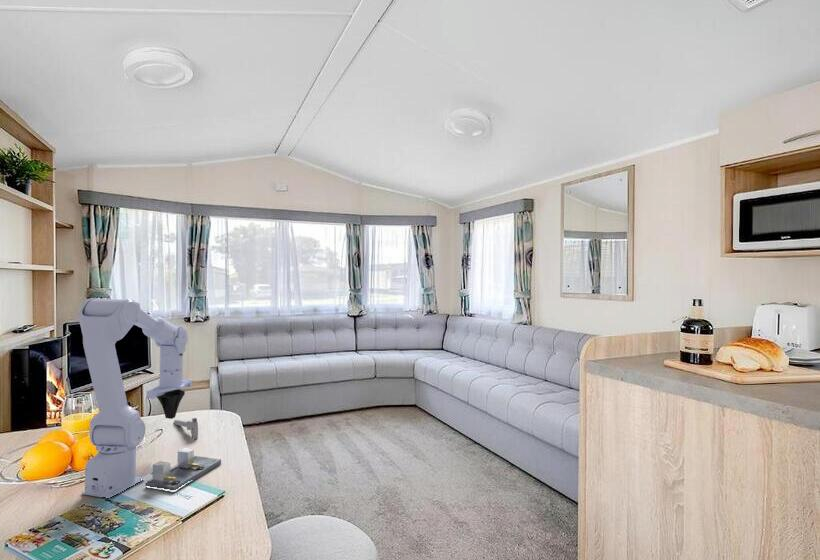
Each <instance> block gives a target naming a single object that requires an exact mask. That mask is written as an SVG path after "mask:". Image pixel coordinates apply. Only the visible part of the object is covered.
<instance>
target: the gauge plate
mask: <svg viewBox="0 0 820 560" xmlns="http://www.w3.org/2000/svg"><path fill="white" fill-rule="evenodd" d="M193 463H196V464H200V466H199V467H190V468H188V469H187V468H180V467H177V466H178V463H177V464H176V465H174V466H172V467H171V462H169V461H162V460H159V461H157V462H155V463H153V464H152V478H150V479H147V481H146V482H145V483H144V484H145V485H144V487H145V486H150V487H157V488H164V489H170V490H176V489H178V488H179V487H181V486H182V485H184V484H185V483H187V482H188V481H191V480H193V482H194V481H196V480H197V479H199V478H201V477H202V476H204V475H206V474H207V473H209V472H211V471H213V470H214V469H215V468H217V467H219V466H220V465H221V464H222V459H221V458H220V459H219V458H212V457H207V456H206V457H205V456H199V455H194V461H193Z"/></svg>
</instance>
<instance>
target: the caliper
mask: <svg viewBox="0 0 820 560" xmlns="http://www.w3.org/2000/svg"><path fill="white" fill-rule="evenodd" d="M173 422H174V423H173V424H174V425H175V426H180V427H185V428H186V430H188V431H190V435H191V438H192V439H194V440H197V439H198V438H199V424H198V418H197V417H193V418H191V420H183V419H182V420H181V419H174V421H173Z"/></svg>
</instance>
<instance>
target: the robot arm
mask: <svg viewBox="0 0 820 560" xmlns="http://www.w3.org/2000/svg"><path fill="white" fill-rule="evenodd" d="M140 305H141V304H140V302H137V301H135V300H134V299H132V298H126V299H118V298H117V299H116V298H115V299H114V298H113V299H112V298H97V297H95V298H94V297H91V298H88V299H87V300H85V301H84V303H83V305H82V306H81V308H80V309H79V311H78V313H77V317H78V322H79V325H80V329H81V334H82V344H83V346H82V347H83V350H84V355H85V358H86V363H87V367H88V371H89V375H90V379H91V384H92V387H93V392H94V396H95V400H96V403H97V408H98V412H97V413H96V414H94V416H93V417H92V418H91V420H89V425H90V431H89V439H90V440H89V441H90V443H91V444H92V445H93V446H94V447H95V451H97V453H96V454H95V455H94V456H93V457H91V458H90V459H88V460H87V461H86V464H85V467H84V490H82V491H81V494H82V495H87V496H91V497H97V498H102V497H107V498H109V497H112V496H114V495H116V494H118V493H119V494H121V493H123V492H125V491H127V490H128V489H127V488H129V487H131V486H133V485H134V484H136V483H138V482H139V481H141V479H142V480H143V479H144V478H145V477H141V476H137V475H136V469H137V468H136V467H137V466H136V465H137V462H136V461H137V447H138V446H139V445H140V444H141V443H142V441H143V439H144V438H145V435H146V424H145V422H144V420H143V419H142V418H141V415H140V412H139V411H138V410H136V409H135V408H133V407H131V406H130V405H129V404H128V401H127V394H126V392H125V390H126V389H125V387H124V382H123V377H122V373H121V367H120V363H119V358H118V355H117V349H116V343H117V342H118V341H120V340H122V339H123V338H124V337H125V336H126V335H127V334H128V332H129V331H130V330H131V328H133V326H137V327H138V328H141V329H142V333H143V334H144V336H146V337H148V338H150V339H152V340H153V341H154V342H155V345H156V346H157V347H159V381H158V382H159V383H158V384H159V385H157V386H155V387H154V388H151V389H149V390H146V399H151V400H153V399H156V398H157V400H158V401H159V403H160V405H161V406H162V409H163V413H164V416H165V419H169V420H170V419H171V420H172V419H175V418H176V416H177V412H178V409H179V406H180V403H181V401H182V400H183V398H184V396H185V394H186V393H185V392H186V391H185V390H183V389H185V388H188V387H189V388H190V387H193V384H194V383H193V382H194V381H193V379H189V378H187V379H183V378H184V377H183V376H184V375H183V374H184V373H183V372H184V353H185V352H186V348H187V347H186V346H187V343H188V341H189V335H188V332H187V330H186V329H184V327H183V326H176V325H174V323H173V322H171V321H168V320H166V319H165V316H164V315H159V314H158V315H153V316H151V314H149V313H148V312H146V311H145V310H144V309H143V308H141V306H140ZM138 484H139V483H138ZM136 485H137V484H136ZM134 486H135V485H134ZM134 486H133V487H134ZM131 488H132V487H131ZM126 489H127V490H126ZM129 489H130V488H129ZM124 490H125V491H124ZM122 491H123V492H122ZM120 492H121V493H120ZM119 494H118V495H119ZM116 496H117V495H116ZM114 497H115V496H114ZM107 498H106V499H107ZM112 498H113V497H112ZM109 499H110V498H109Z"/></svg>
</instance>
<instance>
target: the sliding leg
mask: <svg viewBox="0 0 820 560" xmlns="http://www.w3.org/2000/svg"><path fill="white" fill-rule="evenodd" d="M194 452H195V449H192V448H186V447H184V448H182V449H179V450H178V451H177V464H178V466H177V467H180V468H187V469H188V468H190V467H199V466H200V464H196V463H193V461H194V456H195V455H194V454H195V453H194Z"/></svg>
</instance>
